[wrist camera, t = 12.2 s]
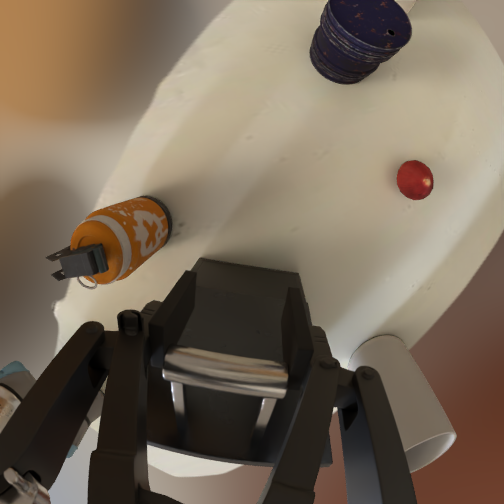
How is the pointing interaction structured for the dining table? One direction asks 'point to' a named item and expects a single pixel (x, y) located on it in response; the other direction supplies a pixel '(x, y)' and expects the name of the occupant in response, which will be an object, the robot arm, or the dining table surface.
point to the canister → (115, 241)
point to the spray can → (406, 4)
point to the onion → (415, 180)
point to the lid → (225, 383)
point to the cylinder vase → (408, 399)
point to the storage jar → (358, 38)
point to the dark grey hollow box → (246, 279)
